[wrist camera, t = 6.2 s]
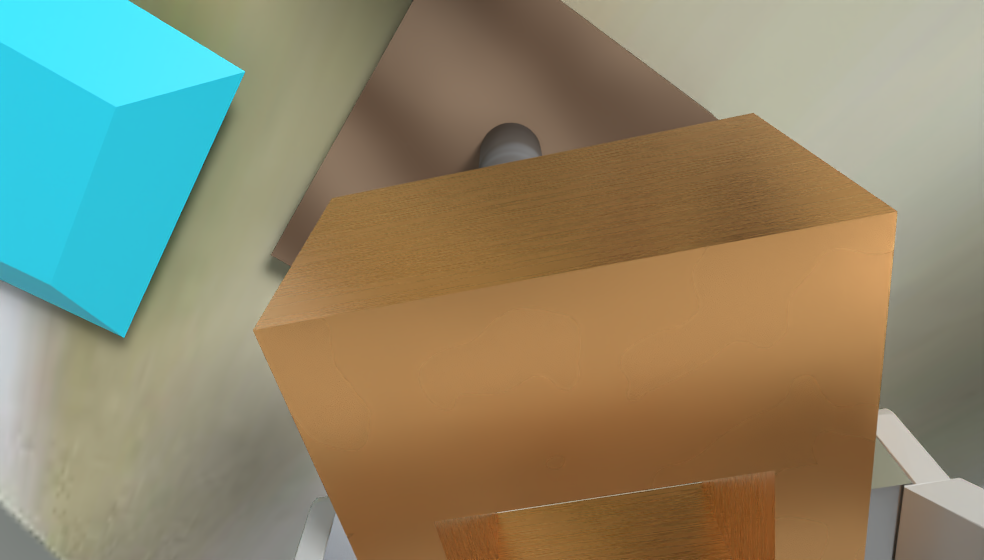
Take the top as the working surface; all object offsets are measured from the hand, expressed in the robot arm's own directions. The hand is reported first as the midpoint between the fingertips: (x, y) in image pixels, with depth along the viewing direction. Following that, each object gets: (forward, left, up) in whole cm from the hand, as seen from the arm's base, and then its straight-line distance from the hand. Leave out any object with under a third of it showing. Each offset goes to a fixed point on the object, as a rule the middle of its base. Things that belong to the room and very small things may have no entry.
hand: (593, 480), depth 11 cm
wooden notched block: (0, 0, -2) cm, 2 cm away
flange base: (+3, +1, -18) cm, 18 cm away
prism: (+20, -6, -18) cm, 28 cm away
